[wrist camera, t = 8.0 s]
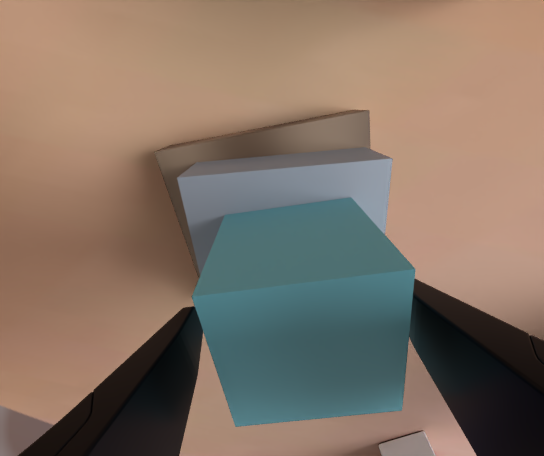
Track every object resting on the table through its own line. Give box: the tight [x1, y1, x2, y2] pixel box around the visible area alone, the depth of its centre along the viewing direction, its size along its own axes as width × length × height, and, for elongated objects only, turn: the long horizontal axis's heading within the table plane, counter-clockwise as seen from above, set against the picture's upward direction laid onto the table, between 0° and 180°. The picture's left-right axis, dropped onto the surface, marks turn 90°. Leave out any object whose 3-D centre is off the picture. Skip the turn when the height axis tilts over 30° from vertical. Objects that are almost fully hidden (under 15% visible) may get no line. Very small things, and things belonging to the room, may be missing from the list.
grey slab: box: [177, 147, 392, 275], centre depth 13 cm, size 8×8×3 cm
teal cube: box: [192, 197, 415, 427], centre depth 9 cm, size 5×5×5 cm
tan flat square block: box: [154, 110, 370, 278], centre depth 16 cm, size 10×10×3 cm
